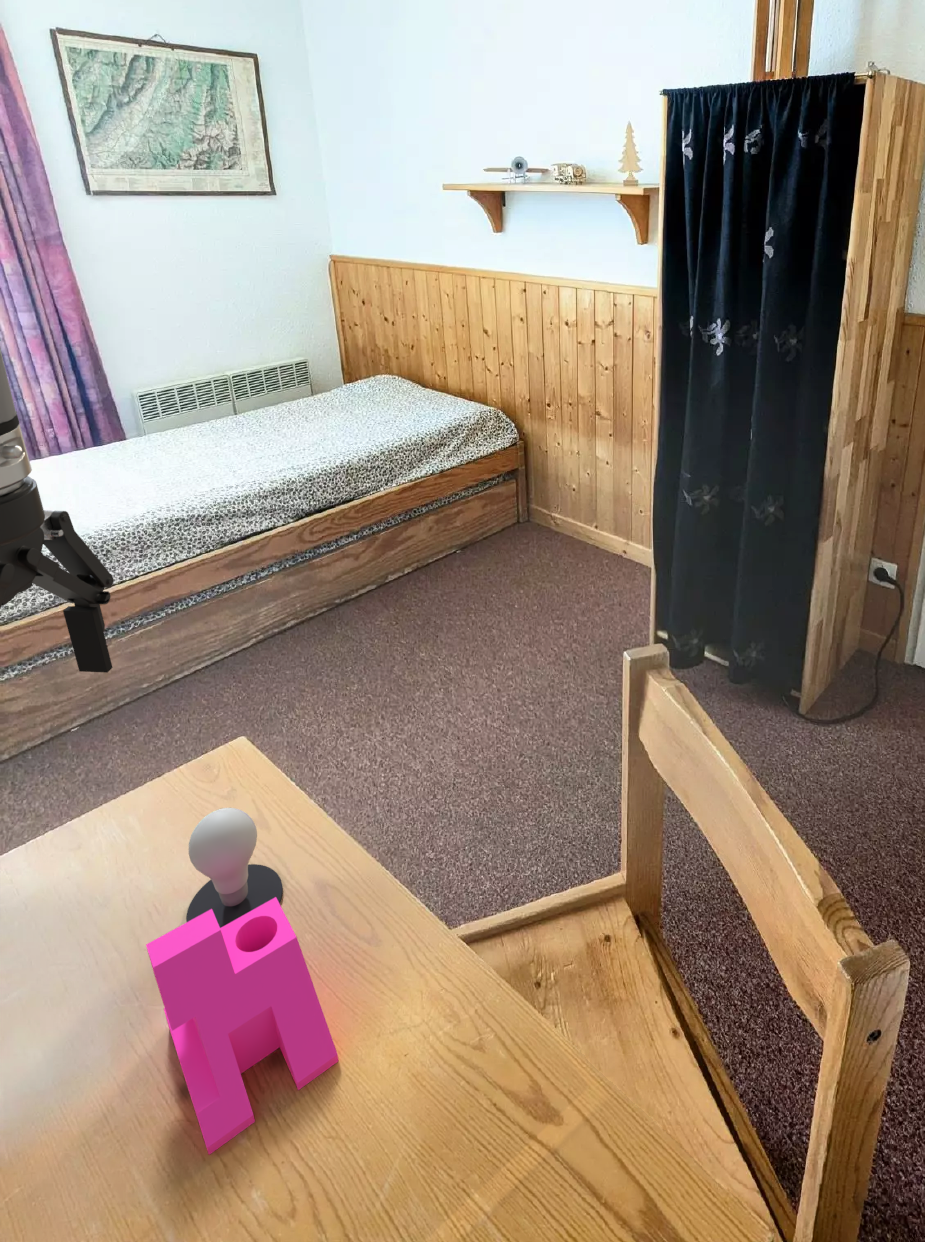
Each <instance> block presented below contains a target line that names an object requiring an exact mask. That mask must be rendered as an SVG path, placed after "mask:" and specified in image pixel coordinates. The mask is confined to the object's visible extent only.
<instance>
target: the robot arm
mask: <svg viewBox="0 0 925 1242" xmlns="http://www.w3.org/2000/svg"><path fill="white" fill-rule="evenodd" d="M1 341H2V340H1V338H0V342H1ZM19 419H20V418H19V416H18V412H17V411H16V407H15V403H14V399H13V395H12V390H11V386H10V383H9V378H8V374H7V370H6V365H5V362H4V358H3V354H2V348H1V347H0V610H1V609H2V606H3V607H4V606H5V605H7V604H8V603H9V602H11V601H12V600H13V599H14V598H15V597H16V596H17V595H18V594H19V593H22V592H25V591H27V590H28V589H31V587H33V586H34V585H35V586H37V587H39V588H40V589H43V590H45V591H46V592H49V593H50V594H52V595H54V596H57V597H58V598H60V599H62V600H64V601H66V602H67V603H70V604H74V606H73V605H69V606H67V607H66V608H64V609H63V610H62V613H63V617H64V620H65V623H66V624H65V625H66V627H67V631H68V635H69V638H70V643H71V646H72V649H73V653H74V657H75V660H76V661H75V662H76V663H77V664H76V665H77V668H78V672H83V673H109V672H110V670H112V669H113V668H114V667H113V663H112V660H111V656H110V652H109V648H108V643H107V639H106V636H105V629H106V624H105V619H104V617H103V612H102V608H101V605H107V604H109V603H110V601H111V593H110V591H106V590H105V589H110V588H111V587H112V586H113V584H114V577H113V575H112V573H110V571H109V570H108V569H107V568H106V566H105V565H104V564H103V563H102V561H100V560H99V558H98V557H97V556H96V555H95V553H94V552H93V551H92V549H90V547H89V546H88V544H86V542H84V540H83V539H82V538H81V537H80V535H79V534H78V533H77V532H76V531H75V528H74V525H73V523H72V522H73V521H72V520H71V517H70V514H69V512H68V511H66V510H49V509H46V510H45V509H44V506H43V503H42V498H41V494H40V491H39V487H38V483H37V481H36V480H35V479H34V478H31V477H30V476H29V475H30V474H31V472H32V471H33V469H32V465H31V463H30V462H31V461H30V457H29V453H28V450H27V446H26V443H25V438H24V435H23V432H22V427H21V425H20V420H19ZM43 546H44V547H45V548H46V549H47V550H48V551H49V552H50V554H52V556H53V557H54V558H55V559H56V560H57V561H58V562H59V563H60V564H59V563H57V561H54V560H53V559H51V558H50V557H47V556H46V555H44V553H43V552H42V550H43ZM61 565H62V567H63V568H64V569H65V570H64V569H63V568H62V567H61Z"/></svg>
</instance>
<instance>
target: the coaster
mask: <svg viewBox="0 0 925 1242" xmlns="http://www.w3.org/2000/svg"><path fill="white" fill-rule="evenodd" d="M247 886H248V894H247V896H246V898H245V899H244V900H243V901H242V902H241V903H240V904H238V905H235V906H225V905H224V904H223V903H222V901H221V899H220V895H219V892H217V891H216V889H215V887H214V884H213V882H212V880H211V879H210V880H208V881H207V882H206V883H205V884H203V886H202V887H201V888H199V890H198V891H197V892H196V894H195V895H194V896H193V898H192V899H191V901H190V903H189V905H188V908H187V911H186V917H185V920H186V922H185V923H187V922H188V921H190V920H192V919H194V918H196V917H198V916H199V915H201V914H203V913H205V912H207V911H209V910H210V909H212V910H213V913H214V915H215V917H216V920H217V922H218V924H219V927H220V928H221V927H223V926H225V925H227V924H229V923H230V922H232V921H234V920H236V919H238V918H239V917H241V916H243V915H245V914H246V913H248V912H250V911H252V910H254V909H255V908H257V907H259V906H261V905H262V904H264V903H266V902H268V901H270V900H271V899H273V898H275V897H276V898H277V900H278V902H279V904H280V905H281V902H282V899H283V893H284V888H283V886H284V885H283V882H282V879H281V877H280V875H279V874H278V872H276V871H275V869H273V868H271V867H269V866H267V865H263V864H255V863H254V864H253V863H248V879H247Z"/></svg>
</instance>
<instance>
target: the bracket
mask: <svg viewBox="0 0 925 1242" xmlns="http://www.w3.org/2000/svg"><path fill="white" fill-rule="evenodd" d="M300 945H301V944H300V942H299V940H298V937H297V935H296V933H295V931H294V929H293V926H292V925H291V923H290V921H289V919H288V917H287V916H286V913H285V912H284V909H283V908H282V905H281V903H280V904H279V902H278V900H277V898H276V897H275V898H273V899H271V900H270V901H268V902H266V903H264V904H262V905H261V906H259V907H257V908H255V909H254V910H252V911H250V912H248V913H246V914H245V915H243V916H241V917H239V918H238V919H236V920H234V921H232V922H230V923H229V924H227V925H225V926H223V927H221V928H220V927H219V924H218V922H217V920H216V917H215V915H214V913H213V910H212V909H210V910H209V911H207V912H205V913H203V914H201V915H199V916H198V917H196V918H194V919H192V920H190V921H188V922H185V923H183V924H181V925H179V926H178V927H175V928H174V929H171V930H170V931H168V932H166V933H165V934H162V935H161V936H159V937H157V938H155V939H154V940H152V941H150V942H148V943H146V944H145V947H146V951H147V955H148V958H149V961H150V965H151V968H152V969H151V970H152V972H153V976H154V979H155V981H156V985H157V988H158V991H159V994H160V998H161V1000H162V1004H163V1007H164V1008H163V1011H164V1015H165V1019H166V1023H167V1026H168V1030H169V1033H170V1036H171V1039H172V1043H173V1045H174V1048H175V1052H176V1055H177V1058H178V1061H179V1065H180V1068H181V1071H182V1074H183V1077H184V1080H185V1084H186V1087H187V1090H188V1094H189V1096H190V1100H191V1103H192V1106H193V1110H194V1113H195V1116H196V1119H197V1121H198V1125H199V1128H200V1131H201V1134H202V1137H203V1141H204V1144H205V1148H206V1151H207V1154H208V1156H210V1155H211V1154H213V1153H214V1152H215V1151H217V1150H218V1149H219V1148H221V1147H222V1146H224V1145H225V1144H227V1143H228V1142H229V1141H231V1140H232V1139H233V1138H235V1137H236V1136H237V1135H239V1134H240V1133H242V1132H244V1131H245V1130H246V1129H247V1128H249V1127H251V1125H253V1124H254V1123H256V1119H255V1116H254V1112H253V1108H252V1106H251V1102H250V1099H249V1095H248V1093H247V1089H246V1087H245V1083H244V1080H243V1077H242V1074H243V1073H244V1072H246V1071H247V1070H249V1069H251V1068H252V1067H253V1066H255V1065H256V1064H257V1063H259V1062H261V1061H262V1060H263V1059H265V1058H266V1057H268V1056H269V1055H271V1054H273V1052H275V1051H277V1050H278V1049H280V1052H281V1054H282V1056H283V1059H284V1061H285V1062H286V1065H287V1068H288V1070H289V1072H290V1075H291V1077H292V1079H293V1081H294V1084H295V1086H296V1089H297V1091H300V1090H301V1089H303V1088H304V1087H305V1086H307V1085H308V1084H309V1083H311V1082H312V1081H314V1080H315V1079H316V1078H318V1077H320V1076H321V1075H322V1074H323V1073H325V1072H326V1071H327V1070H329V1069H330V1068H332V1066H334V1065H336V1064H337V1063H338V1062H339V1054H338V1052H337V1048H336V1046H335V1043H334V1040H333V1037H332V1034H331V1031H330V1028H329V1026H328V1023H327V1021H326V1017H325V1013H324V1011H323V1008H322V1005H321V1003H320V1000H319V997H318V994H317V991H316V988H315V986H314V982H313V980H312V976H311V974H310V971H309V968H308V966H307V963H306V960H305V957H304V954H303V952H302V951H303V950H302V948H301V946H300Z"/></svg>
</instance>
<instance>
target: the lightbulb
mask: <svg viewBox="0 0 925 1242" xmlns="http://www.w3.org/2000/svg"><path fill="white" fill-rule="evenodd" d="M257 842H258V829H257V825H256V824H255V821H254V819H253V818H252V817H251V816H250V815H249V814H248V813H247V812H246V811H244V810H242V809H240V808H236V807H222V808H219V809H216V810H214V811H212V812H210V813H208V814H206V815H205V816H204V817H203V818H202V819H201V820H200V821H199V822H198V823H197V824H196V826H195V827H194V829H193V830H192V833H191V834H190V837H189V841H188V857H189V860H190V863H191V864H192V865H193V867H194V869H195V870H196V871H198V872H199V873H201V874H202V875H204V876H205V877H207V878H208V879H210V880H212V882H213V884H214V887H215V889H216V891H217V892H219V895H220V899H221V901H222V903H223V904H224V905H225V906H235V905H238V904H240V903H241V902H242V901H243V900H244V899H245V898H246V896H247V894H248V886H247V879H248V865H249V864H250V863H249V862H250V860H251V858H252V856H253V853H254V851H255V849H256V846H257Z"/></svg>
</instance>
